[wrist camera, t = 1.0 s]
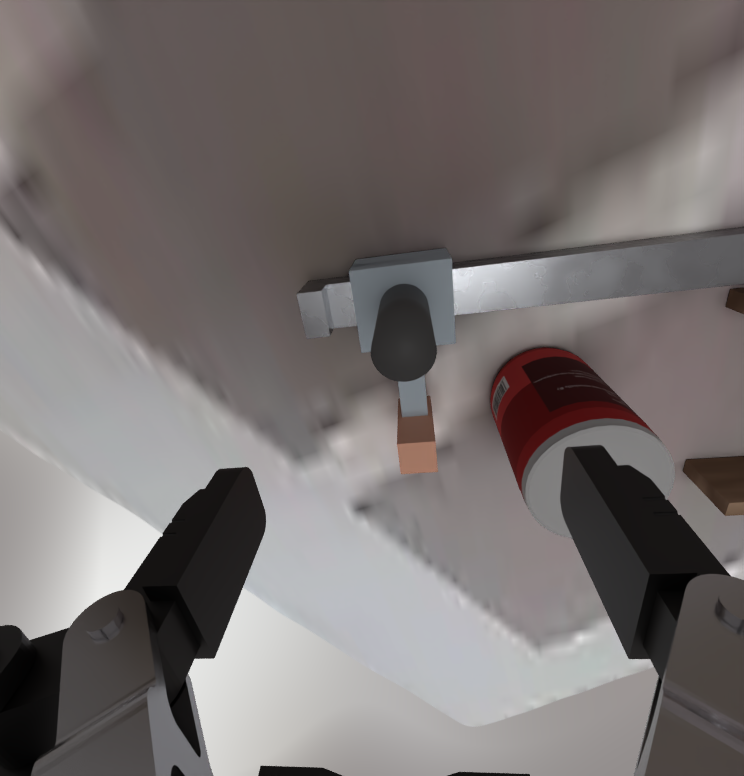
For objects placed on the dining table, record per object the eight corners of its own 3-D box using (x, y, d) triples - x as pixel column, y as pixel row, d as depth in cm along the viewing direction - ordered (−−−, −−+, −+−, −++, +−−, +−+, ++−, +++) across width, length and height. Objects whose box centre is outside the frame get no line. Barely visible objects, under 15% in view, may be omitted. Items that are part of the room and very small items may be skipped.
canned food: (511, 448, 34) (554, 557, 24) (470, 372, 31) (500, 462, 21) (605, 410, 32) (693, 514, 22) (570, 325, 29) (655, 400, 19)
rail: (308, 281, 29) (296, 293, 26) (786, 221, 25) (842, 228, 22) (316, 321, 30) (306, 338, 27) (771, 271, 26) (821, 284, 23)
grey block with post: (355, 259, 27) (328, 303, 18) (445, 247, 27) (468, 287, 17) (379, 420, 33) (369, 520, 23) (454, 415, 32) (475, 515, 23)
